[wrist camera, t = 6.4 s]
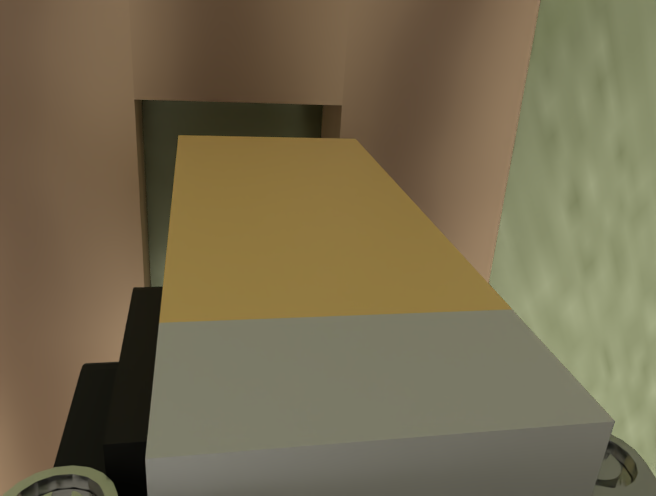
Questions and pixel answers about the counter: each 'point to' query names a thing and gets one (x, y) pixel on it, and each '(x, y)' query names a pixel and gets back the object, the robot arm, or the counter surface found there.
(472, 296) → the block
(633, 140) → the counter surface
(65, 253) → the wooden plate with hole
